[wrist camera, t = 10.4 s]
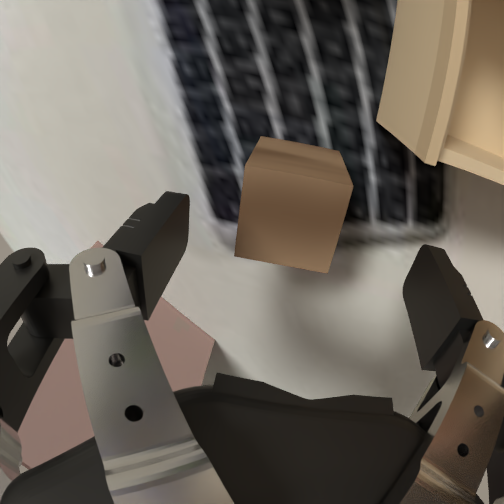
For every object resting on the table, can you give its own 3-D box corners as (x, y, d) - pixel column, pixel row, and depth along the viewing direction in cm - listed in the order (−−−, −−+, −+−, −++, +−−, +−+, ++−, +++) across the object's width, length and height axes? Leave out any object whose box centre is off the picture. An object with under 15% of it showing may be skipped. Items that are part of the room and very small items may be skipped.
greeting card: (88, 241, 21) (-43, 411, 8) (181, 233, 19) (52, 469, 7) (141, 351, 27) (77, 500, 14) (220, 356, 25) (173, 534, 13)
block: (322, 219, 18) (327, 273, 14) (251, 206, 18) (234, 256, 14) (339, 150, 15) (353, 186, 11) (261, 136, 16) (245, 165, 12)
